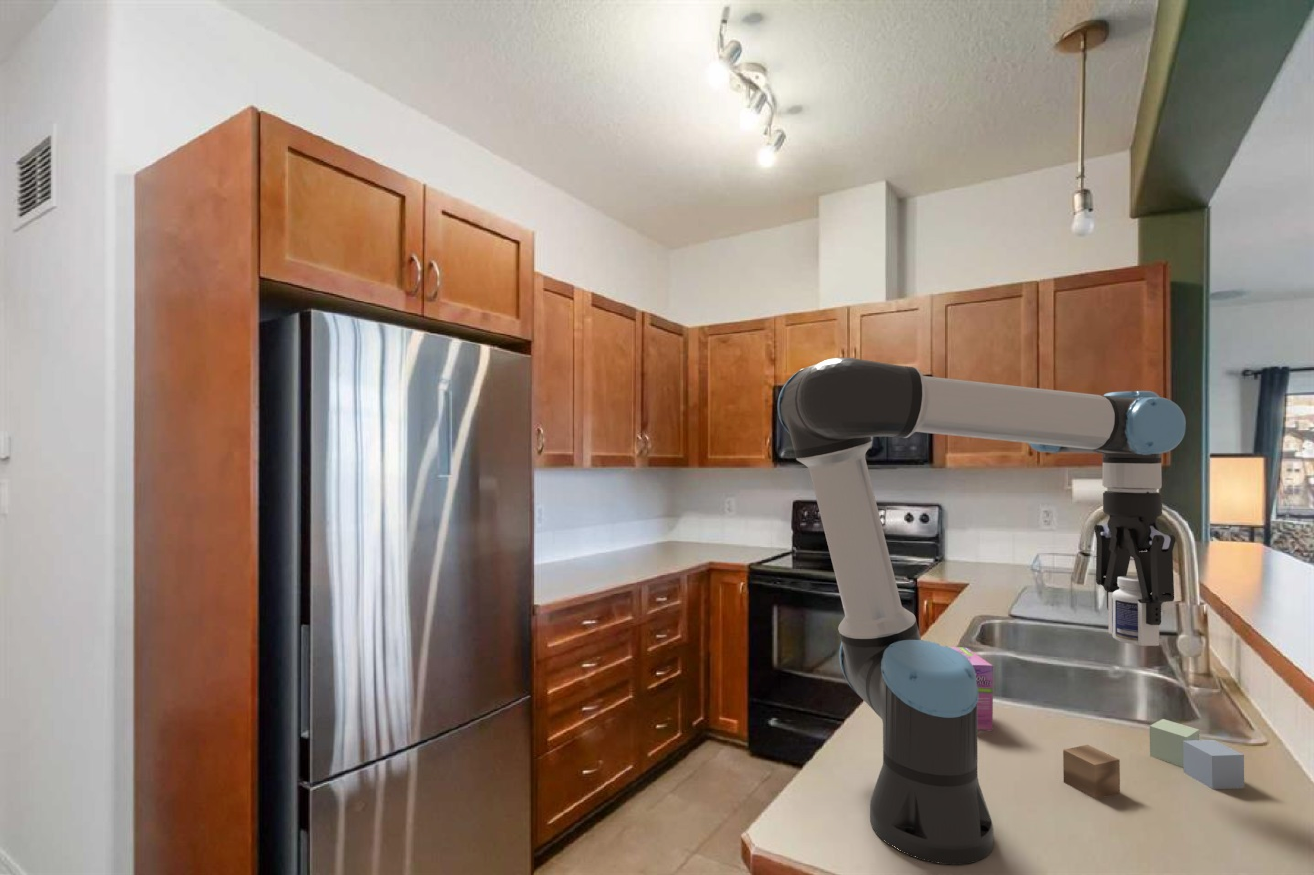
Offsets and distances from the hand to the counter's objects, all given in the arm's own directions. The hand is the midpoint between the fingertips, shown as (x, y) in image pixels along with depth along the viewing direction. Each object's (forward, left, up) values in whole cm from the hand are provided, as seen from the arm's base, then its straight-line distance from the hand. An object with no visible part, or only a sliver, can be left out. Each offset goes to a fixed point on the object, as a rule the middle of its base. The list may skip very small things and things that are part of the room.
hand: (1133, 638), depth 103 cm
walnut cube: (-10, -4, -21) cm, 23 cm away
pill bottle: (0, 0, -1) cm, 1 cm away
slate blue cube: (+10, -3, -21) cm, 23 cm away
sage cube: (+10, +4, -21) cm, 23 cm away
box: (-16, +21, -21) cm, 34 cm away
